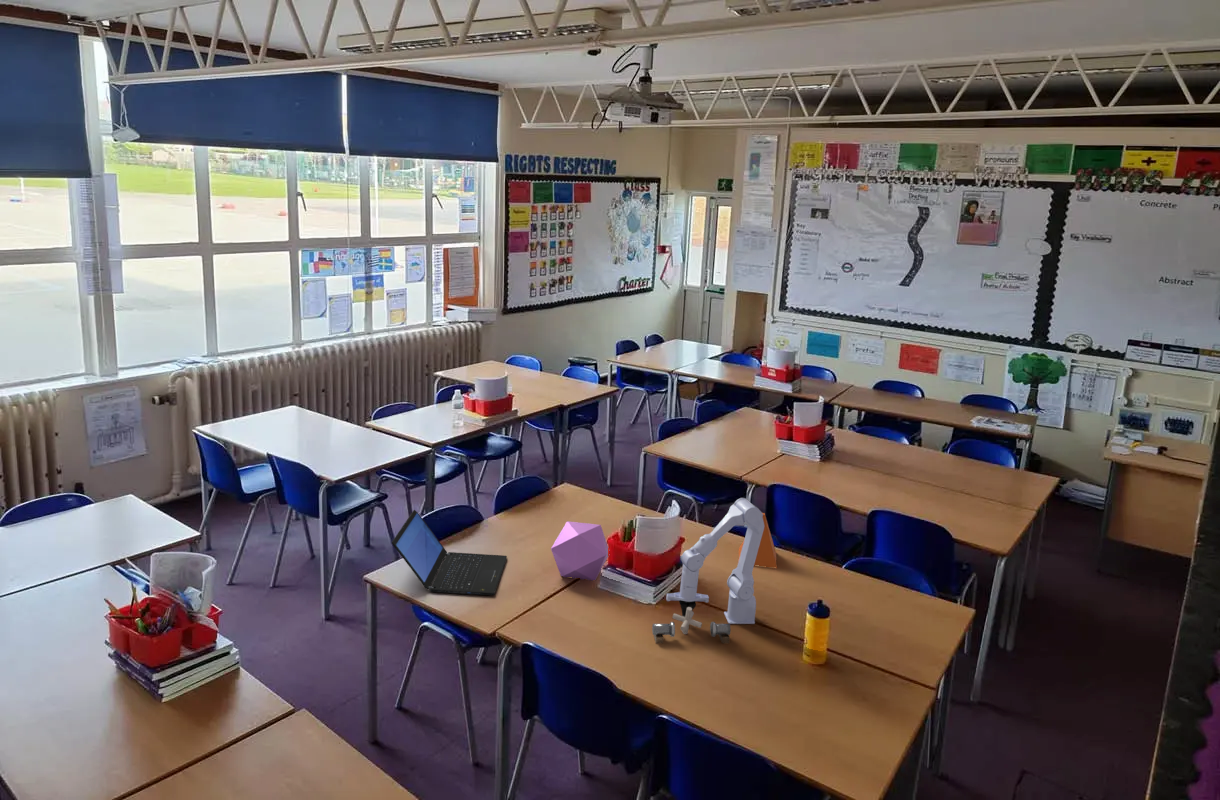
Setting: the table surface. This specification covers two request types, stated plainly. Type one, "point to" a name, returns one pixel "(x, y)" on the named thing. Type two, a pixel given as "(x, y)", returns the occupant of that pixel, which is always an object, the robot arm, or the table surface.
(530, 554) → the table surface
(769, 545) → the pyramid
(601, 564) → the icosahedron
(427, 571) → the laptop
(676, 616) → the pipe connector
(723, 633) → the shaft
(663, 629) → the grey metal fitting
